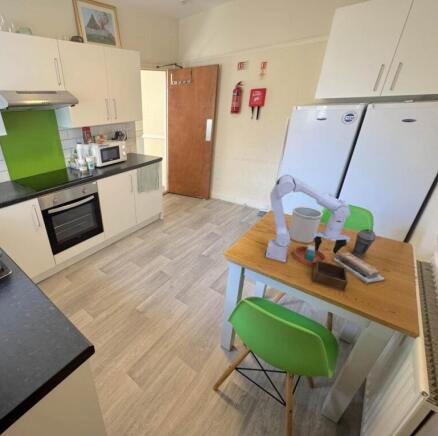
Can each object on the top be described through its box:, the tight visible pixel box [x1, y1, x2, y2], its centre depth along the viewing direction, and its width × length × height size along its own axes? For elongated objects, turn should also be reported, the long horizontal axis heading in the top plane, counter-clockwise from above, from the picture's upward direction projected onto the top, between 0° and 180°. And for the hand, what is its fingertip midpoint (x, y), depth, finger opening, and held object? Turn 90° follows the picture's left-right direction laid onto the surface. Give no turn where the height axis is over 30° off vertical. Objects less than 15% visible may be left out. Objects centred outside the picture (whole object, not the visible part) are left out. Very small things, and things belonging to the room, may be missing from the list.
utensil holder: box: [288, 205, 324, 244], centre depth 140 cm, size 15×15×18 cm
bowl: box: [292, 245, 327, 267], centre depth 125 cm, size 14×14×3 cm
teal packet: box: [305, 250, 315, 261], centre depth 122 cm, size 3×5×5 cm
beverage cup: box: [352, 223, 377, 259], centre depth 122 cm, size 7×7×20 cm
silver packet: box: [305, 244, 315, 256], centre depth 126 cm, size 3×5×5 cm
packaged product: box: [332, 251, 385, 284], centre depth 116 cm, size 18×5×10 cm
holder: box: [312, 260, 349, 292], centre depth 110 cm, size 11×11×6 cm
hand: (325, 251), depth 116 cm, fingers open, 7 cm apart
